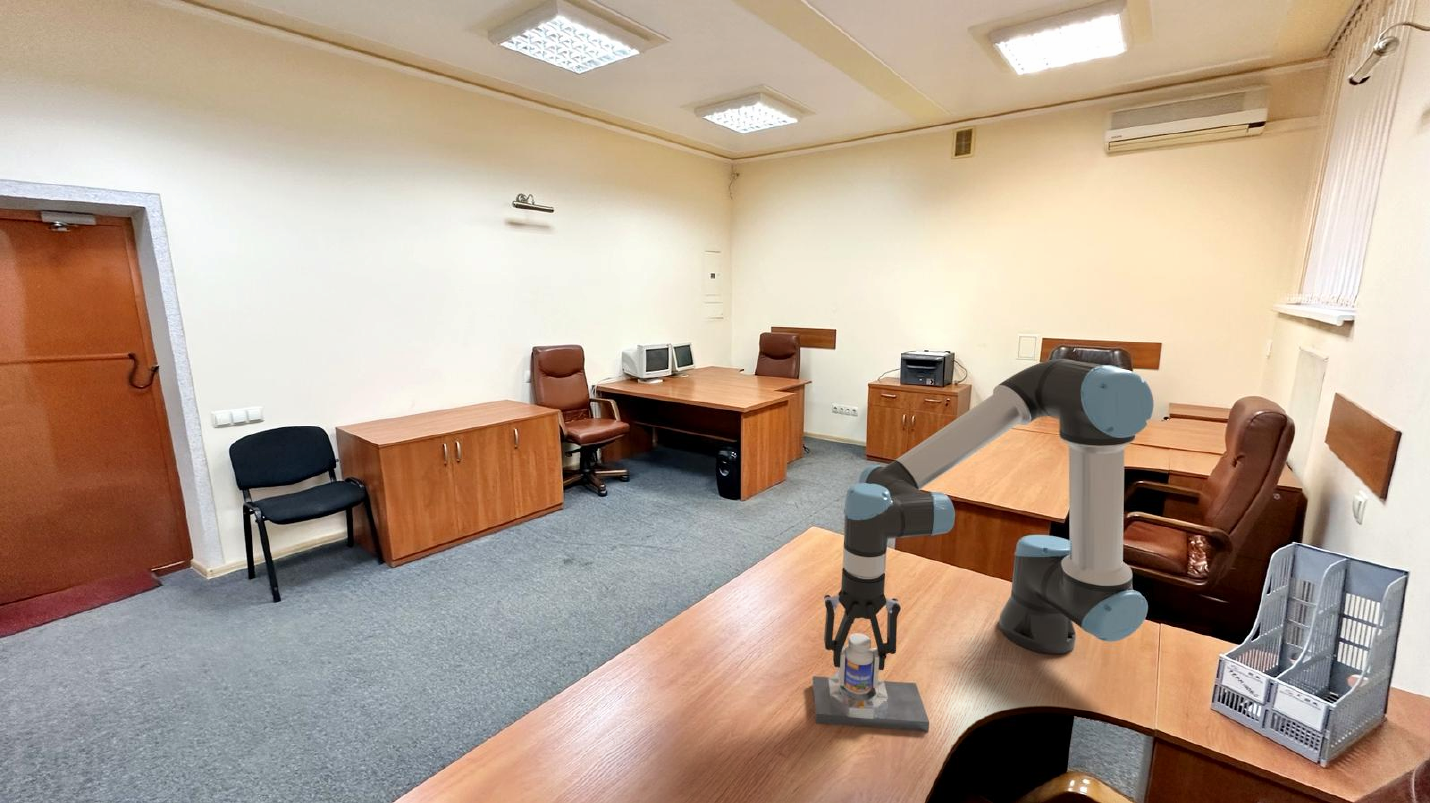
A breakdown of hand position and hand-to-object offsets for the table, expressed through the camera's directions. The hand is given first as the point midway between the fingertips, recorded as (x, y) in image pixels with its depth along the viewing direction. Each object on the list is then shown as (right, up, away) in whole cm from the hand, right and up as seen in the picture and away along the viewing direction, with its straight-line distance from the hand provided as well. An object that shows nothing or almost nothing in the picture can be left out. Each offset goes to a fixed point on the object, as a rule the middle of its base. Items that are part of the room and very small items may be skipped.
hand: (857, 681), depth 105 cm
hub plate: (+2, -5, +1) cm, 6 cm away
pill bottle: (0, -1, 0) cm, 1 cm away
